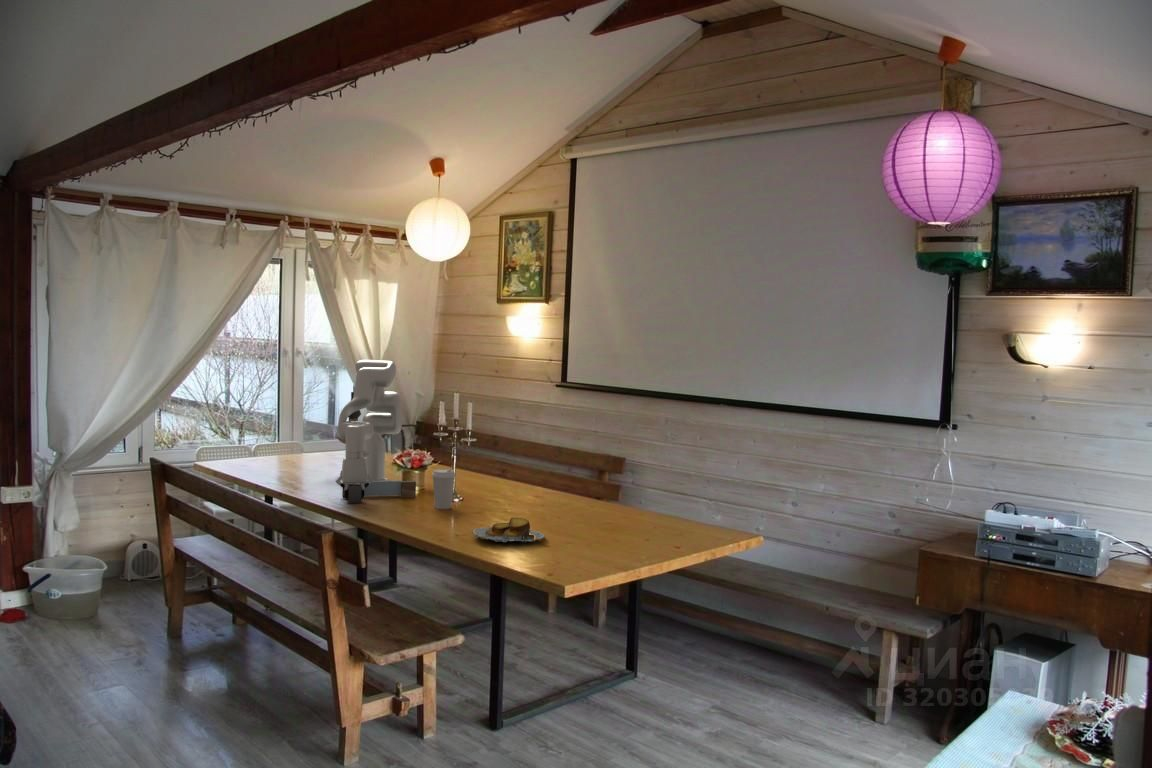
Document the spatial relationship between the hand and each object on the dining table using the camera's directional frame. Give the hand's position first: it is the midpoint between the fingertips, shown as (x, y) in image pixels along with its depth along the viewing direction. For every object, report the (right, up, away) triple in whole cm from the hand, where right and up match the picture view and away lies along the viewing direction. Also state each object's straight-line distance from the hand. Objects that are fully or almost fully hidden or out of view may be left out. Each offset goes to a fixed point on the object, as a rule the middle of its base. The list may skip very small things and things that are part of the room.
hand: (354, 498), depth 352 cm
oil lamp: (-15, +3, +56) cm, 58 cm away
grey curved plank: (+7, 0, +13) cm, 15 cm away
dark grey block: (0, -1, 0) cm, 1 cm away
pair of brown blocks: (+8, -1, +11) cm, 14 cm away
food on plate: (+67, -8, -50) cm, 84 cm away
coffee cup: (+37, -3, -3) cm, 37 cm away
